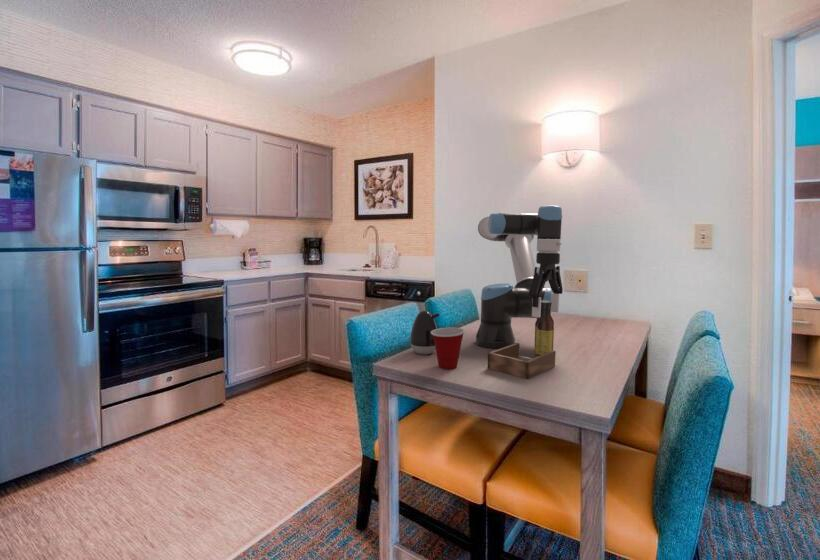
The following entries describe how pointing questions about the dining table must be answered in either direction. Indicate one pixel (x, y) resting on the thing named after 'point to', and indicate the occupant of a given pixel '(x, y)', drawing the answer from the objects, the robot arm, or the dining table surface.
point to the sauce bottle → (544, 330)
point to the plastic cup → (448, 346)
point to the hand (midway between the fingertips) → (545, 314)
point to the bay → (519, 362)
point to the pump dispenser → (423, 333)
